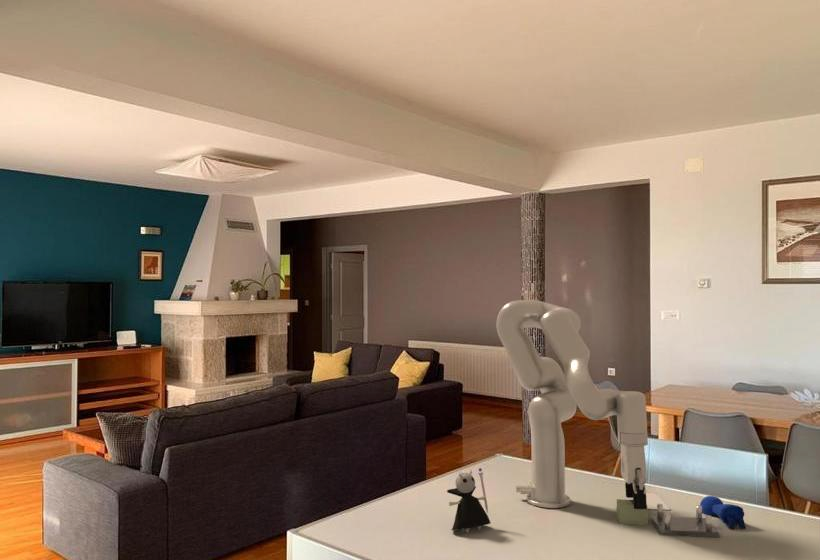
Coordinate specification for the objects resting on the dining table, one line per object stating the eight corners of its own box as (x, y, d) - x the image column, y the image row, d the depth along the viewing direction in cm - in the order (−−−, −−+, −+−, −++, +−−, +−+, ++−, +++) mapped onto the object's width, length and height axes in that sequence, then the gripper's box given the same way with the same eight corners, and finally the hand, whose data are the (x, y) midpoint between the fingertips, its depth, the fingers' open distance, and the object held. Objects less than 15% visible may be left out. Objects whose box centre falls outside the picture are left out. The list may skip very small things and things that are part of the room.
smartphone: (646, 509, 177) (633, 492, 192) (646, 511, 177) (633, 494, 192) (672, 510, 176) (657, 493, 191) (672, 512, 176) (657, 494, 191)
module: (620, 523, 167) (619, 503, 167) (616, 517, 171) (616, 497, 171) (647, 525, 166) (647, 504, 166) (643, 518, 170) (643, 498, 170)
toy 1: (460, 535, 156) (450, 472, 161) (447, 534, 162) (438, 474, 166) (499, 527, 162) (489, 466, 166) (485, 526, 167) (475, 468, 172)
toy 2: (750, 531, 163) (717, 509, 178) (750, 507, 163) (717, 487, 178) (724, 532, 162) (694, 510, 177) (725, 508, 162) (694, 488, 177)
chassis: (660, 534, 159) (660, 515, 159) (650, 520, 169) (650, 502, 169) (719, 537, 157) (718, 518, 157) (705, 522, 167) (705, 504, 167)
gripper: (612, 431, 178) (615, 493, 177) (624, 445, 161) (628, 513, 160) (640, 431, 177) (643, 493, 176) (655, 445, 160) (659, 513, 159)
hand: (636, 502), depth 168 cm, fingers open, 9 cm apart
